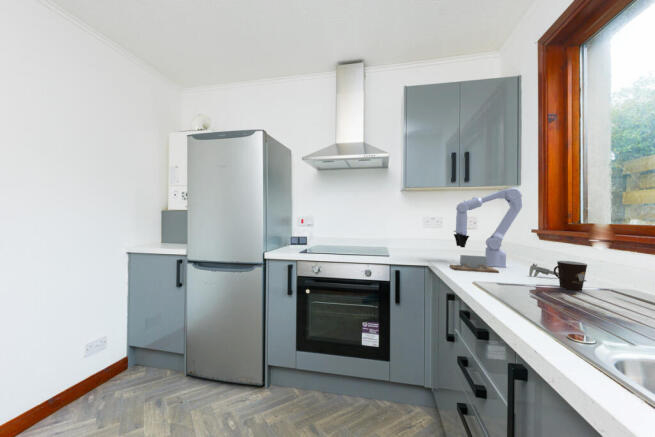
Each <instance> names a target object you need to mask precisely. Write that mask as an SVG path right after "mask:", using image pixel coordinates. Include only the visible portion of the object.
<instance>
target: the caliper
mask: <svg viewBox="0 0 655 437" xmlns="http://www.w3.org/2000/svg"><path fill="white" fill-rule="evenodd" d="M534 271H535V272H534ZM533 273H534V276H533V277H535V278H536V277H537V276H538V275H539V274H540V273H541V274H543V275H546V276H548V275H554V276H556V275H555V274H554V270H550V269H548V268H545V267H541V266H538V264H537V263H536V264H535V263H533V264H532V265H530V267H529V276H530V277H532V275H533ZM556 274H557V275H558V276H559V273H558V271H556ZM584 282H587V280H586V279H584Z"/></svg>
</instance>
